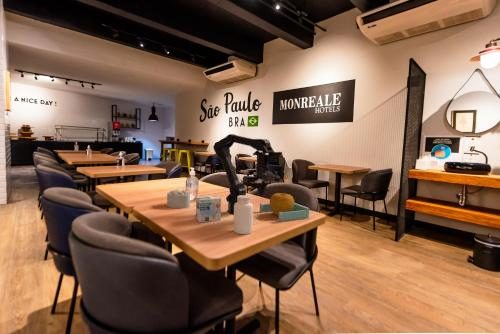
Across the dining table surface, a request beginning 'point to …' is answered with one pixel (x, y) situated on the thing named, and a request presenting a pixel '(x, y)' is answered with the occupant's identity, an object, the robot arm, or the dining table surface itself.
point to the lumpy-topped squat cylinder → (178, 199)
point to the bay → (296, 212)
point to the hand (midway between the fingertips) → (261, 196)
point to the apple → (281, 203)
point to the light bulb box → (208, 208)
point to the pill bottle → (243, 215)
